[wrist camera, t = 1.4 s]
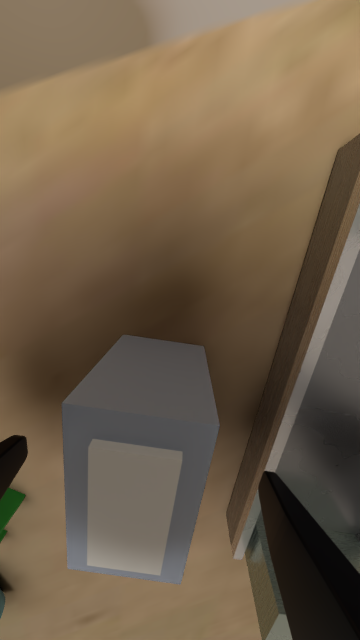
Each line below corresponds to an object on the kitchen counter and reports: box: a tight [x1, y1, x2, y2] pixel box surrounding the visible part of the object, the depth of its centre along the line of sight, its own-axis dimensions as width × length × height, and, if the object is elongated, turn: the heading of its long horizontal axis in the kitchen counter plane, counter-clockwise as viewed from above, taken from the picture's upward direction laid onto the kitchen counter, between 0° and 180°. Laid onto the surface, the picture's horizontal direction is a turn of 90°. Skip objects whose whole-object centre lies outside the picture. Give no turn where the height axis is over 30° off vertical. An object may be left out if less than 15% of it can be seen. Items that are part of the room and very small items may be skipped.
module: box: [62, 334, 220, 584], centre depth 8 cm, size 4×7×5 cm, turn 172°
